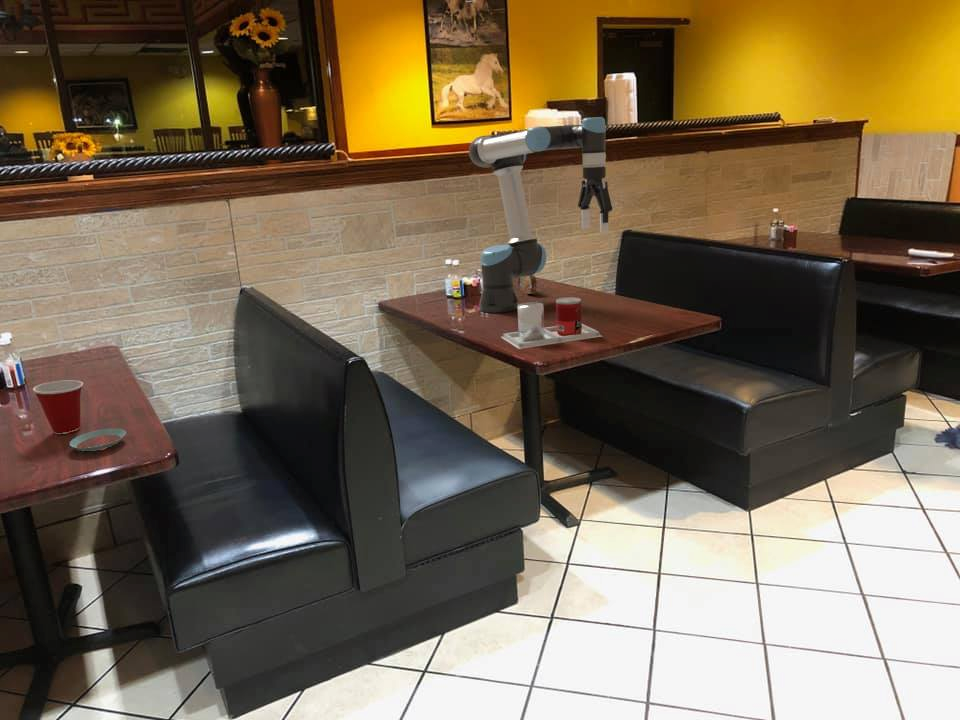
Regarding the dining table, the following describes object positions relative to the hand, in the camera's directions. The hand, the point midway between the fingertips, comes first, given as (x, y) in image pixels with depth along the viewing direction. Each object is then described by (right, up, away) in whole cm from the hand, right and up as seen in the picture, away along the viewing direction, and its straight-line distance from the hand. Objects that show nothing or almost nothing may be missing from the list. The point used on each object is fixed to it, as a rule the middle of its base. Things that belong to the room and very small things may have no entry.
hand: (594, 230), depth 254 cm
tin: (-19, -16, +56) cm, 61 cm away
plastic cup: (-141, -62, -69) cm, 168 cm away
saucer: (-127, -64, -80) cm, 164 cm away
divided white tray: (-16, -38, -17) cm, 45 cm away
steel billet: (-23, -37, -19) cm, 48 cm away
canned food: (-10, -36, -15) cm, 40 cm away
